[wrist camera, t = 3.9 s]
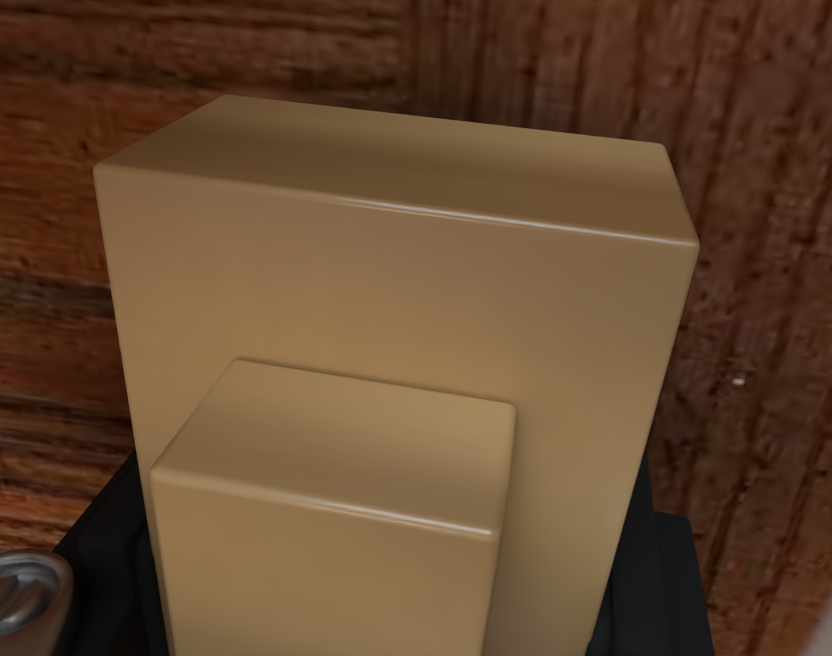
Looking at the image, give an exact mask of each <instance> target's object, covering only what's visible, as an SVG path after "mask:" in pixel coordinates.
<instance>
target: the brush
mask: <svg viewBox="0 0 832 656" xmlns="http://www.w3.org/2000/svg"><path fill="white" fill-rule="evenodd" d="M93 179H94V185H95V191H96V198H97V204H98V211H99V217H100V223H101V230H102V236H103V242H104V249H105V255H106V261H107V268H108V274H109V281H110V287H111V293H112V300H113V306H114V312H115V319H116V325H117V331H118V338H119V344H120V351H121V357H122V363H123V370H124V376H125V382H126V389H127V395H128V401H129V408H130V414H131V421H132V427H133V433H134V440H135V446H136V452H137V459H138V465H139V471H140V478H141V484H142V491H143V497H144V503H145V510H146V516H147V522H148V529H149V535H150V541H151V548H152V554H153V556H154V561H155V568H156V574H157V580H158V587H159V593H160V600H161V606H162V612H163V619H164V625H165V632H166V638H167V644H168V651H169V656H585V653H586V649H587V646H588V642H590V640H591V638H592V636H593V633H594V629H595V626H596V622H597V619H598V615H599V611H600V608H601V604H602V601H603V597H604V593H605V590H606V586H607V583H608V579H609V576H610V572H611V568H612V565H613V561H614V558H615V554H616V550H617V547H618V543H619V540H620V536H621V532H622V529H623V525H624V522H625V518H626V514H627V511H628V507H629V504H630V500H631V497H632V493H633V489H634V486H635V482H636V479H637V475H638V471H639V468H640V464H641V461H642V457H643V453H644V450H645V446H646V443H647V439H648V436H649V432H650V428H651V425H652V421H653V418H654V414H655V410H656V407H657V403H658V400H659V396H660V392H661V389H662V385H663V382H664V378H665V375H666V371H667V367H668V364H669V360H670V357H671V353H672V349H673V346H674V342H675V339H676V335H677V331H678V328H679V324H680V321H681V317H682V314H683V310H684V306H685V303H686V299H687V296H688V292H689V288H690V285H691V281H692V278H693V274H694V270H695V267H696V263H697V260H698V256H699V253H700V249H701V248H700V243H699V239H698V237H697V234H696V231H695V228H694V226H693V223H692V220H691V217H690V215H689V212H688V209H687V206H686V204H685V201H684V198H683V195H682V193H681V190H680V187H679V184H678V182H677V179H676V176H675V173H674V171H673V168H672V165H671V163H670V160H669V157H668V154H667V152H666V149H665V146H663V145H661V144H659V143H650V142H642V141H633V140H624V139H615V138H606V137H598V136H589V135H580V134H571V133H562V132H553V131H545V130H536V129H527V128H518V127H509V126H501V125H492V124H483V123H474V122H465V121H457V120H448V119H439V118H430V117H421V116H413V115H404V114H395V113H386V112H377V111H369V110H360V109H351V108H342V107H333V106H324V105H316V104H307V103H298V102H289V101H280V100H272V99H263V98H254V97H245V96H236V95H228V94H225V95H222V96H220V97H218V98H216V99H214V100H213V101H211V102H209V103H207V104H205V105H203V106H201V107H200V108H198V109H196V110H194V111H192V112H190V113H188V114H186V115H185V116H183V117H181V118H179V119H177V120H175V121H173V122H172V123H170V124H168V125H166V126H164V127H162V128H160V129H159V130H157V131H155V132H153V133H151V134H149V135H147V136H146V137H144V138H142V139H140V140H138V141H136V142H134V143H133V144H131V145H129V146H127V147H125V148H123V149H121V150H119V151H118V152H116V153H114V154H112V155H110V156H108V157H106V158H105V159H103V160H101V161H99V162H97V163H95V165H94V167H93Z"/></svg>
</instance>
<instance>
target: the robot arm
mask: <svg viewBox="0 0 832 656" xmlns="http://www.w3.org/2000/svg"><path fill="white" fill-rule="evenodd" d="M0 656H169V651H168V644H167V638H166V632H165V625H164V619H163V612H162V606H161V600H160V593H159V587H158V580H157V574H156V568H155V561H154V556H153V554H152V548H151V541H150V535H149V529H148V522H147V516H146V510H145V503H144V497H143V491H142V484H141V478H140V471H139V465H138V459H137V452H136V449H135V450H134V451H133V452H132V454H131V455H130V456H129V457H128V459H127V460H126V461H125V462H124V463H123V465H122V466H121V467H120V468H119V470H118V471H117V472H116V473H115V475H114V476H113V477H112V478H111V479H110V481H109V482H108V483H107V484H106V486H105V487H104V488H103V489H102V491H101V492H100V493H99V494H98V496H97V497H96V498H95V499H94V500H93V502H92V503H91V504H90V505H89V507H88V508H87V509H86V510H85V512H84V513H83V514H82V515H81V516H80V518H79V519H78V520H77V521H76V523H75V524H74V525H73V526H72V528H71V529H70V530H69V531H68V533H67V534H66V535H65V536H64V537H63V539H62V540H61V541H60V542H59V544H58V545H57V546H56V547H55V549H54V550H53V551H49V550H44V549H36V548H25V549H15V550H9V551H6V552H3V553H0ZM585 656H715V654H714V649H713V643H712V638H711V632H710V627H709V621H708V616H707V610H706V605H705V599H704V594H703V588H702V583H701V577H700V572H699V567H698V561H697V556H696V550H695V545H694V539H693V534H692V529H691V525H690V522H689V520H688V519H687V518H686V517H684V516H678V515H672V514H667V513H661V512H655V511H654V510H653V502H652V495H651V487H650V479H649V471H648V463H647V455H646V447H645V450H644V453H643V457H642V461H641V464H640V468H639V471H638V475H637V479H636V482H635V486H634V489H633V493H632V497H631V500H630V504H629V507H628V511H627V514H626V518H625V522H624V525H623V529H622V532H621V536H620V540H619V543H618V547H617V550H616V554H615V558H614V561H613V565H612V568H611V572H610V576H609V579H608V583H607V586H606V590H605V593H604V597H603V601H602V604H601V608H600V611H599V615H598V619H597V622H596V626H595V629H594V633H593V636H592V638H591V640H590V642H588V646H587V649H586V653H585Z"/></svg>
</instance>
